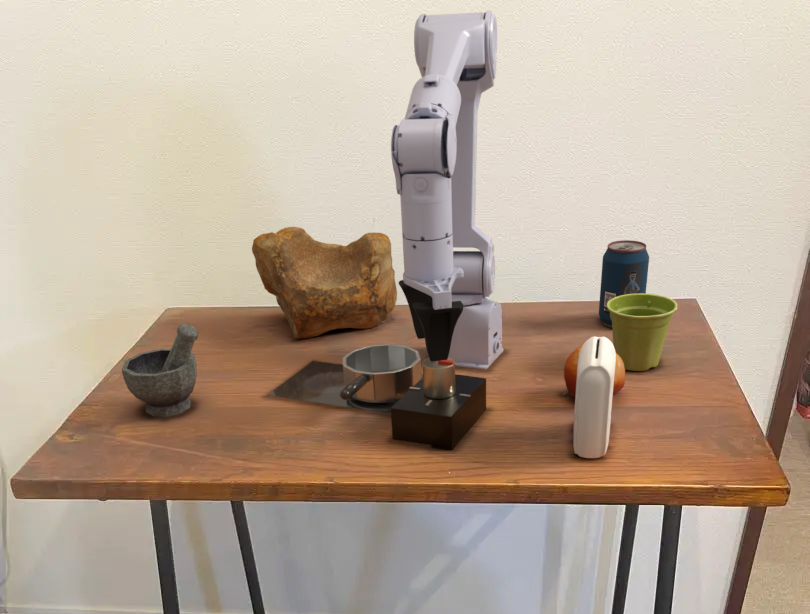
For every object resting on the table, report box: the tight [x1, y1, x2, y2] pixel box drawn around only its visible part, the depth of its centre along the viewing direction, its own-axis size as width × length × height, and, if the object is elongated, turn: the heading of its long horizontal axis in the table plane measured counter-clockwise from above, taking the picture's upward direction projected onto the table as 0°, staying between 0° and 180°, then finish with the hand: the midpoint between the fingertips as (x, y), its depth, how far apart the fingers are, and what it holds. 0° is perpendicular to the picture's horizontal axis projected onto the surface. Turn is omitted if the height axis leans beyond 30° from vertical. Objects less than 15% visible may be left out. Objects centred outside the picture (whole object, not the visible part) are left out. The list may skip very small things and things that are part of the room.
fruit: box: [562, 344, 626, 398], centre depth 115 cm, size 8×8×8 cm
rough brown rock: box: [251, 226, 398, 340], centre depth 140 cm, size 23×17×15 cm
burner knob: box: [421, 357, 456, 399], centre depth 108 cm, size 4×4×4 cm
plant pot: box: [607, 293, 678, 372], centre depth 122 cm, size 9×9×9 cm
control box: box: [390, 373, 487, 451], centre depth 110 cm, size 12×8×5 cm
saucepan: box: [340, 343, 422, 404], centre depth 117 cm, size 16×10×5 cm, turn 155°
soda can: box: [598, 239, 650, 328], centre depth 136 cm, size 7×7×12 cm
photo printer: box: [572, 335, 616, 459], centre depth 103 cm, size 10×4×12 cm, turn 167°
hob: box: [267, 360, 423, 415], centre depth 123 cm, size 21×13×1 cm, turn 65°
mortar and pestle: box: [121, 323, 199, 418], centre depth 117 cm, size 11×9×12 cm
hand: (431, 348), depth 107 cm, fingers open, 7 cm apart
